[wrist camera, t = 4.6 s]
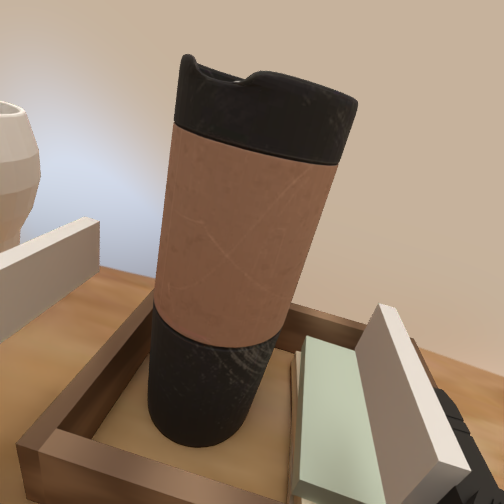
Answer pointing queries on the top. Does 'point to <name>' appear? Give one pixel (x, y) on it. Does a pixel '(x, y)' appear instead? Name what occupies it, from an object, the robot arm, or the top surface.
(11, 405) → the top surface
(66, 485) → the brown wooden tray
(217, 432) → the travel mug
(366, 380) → the robot arm
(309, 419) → the top offcut
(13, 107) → the cup
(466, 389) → the top surface
